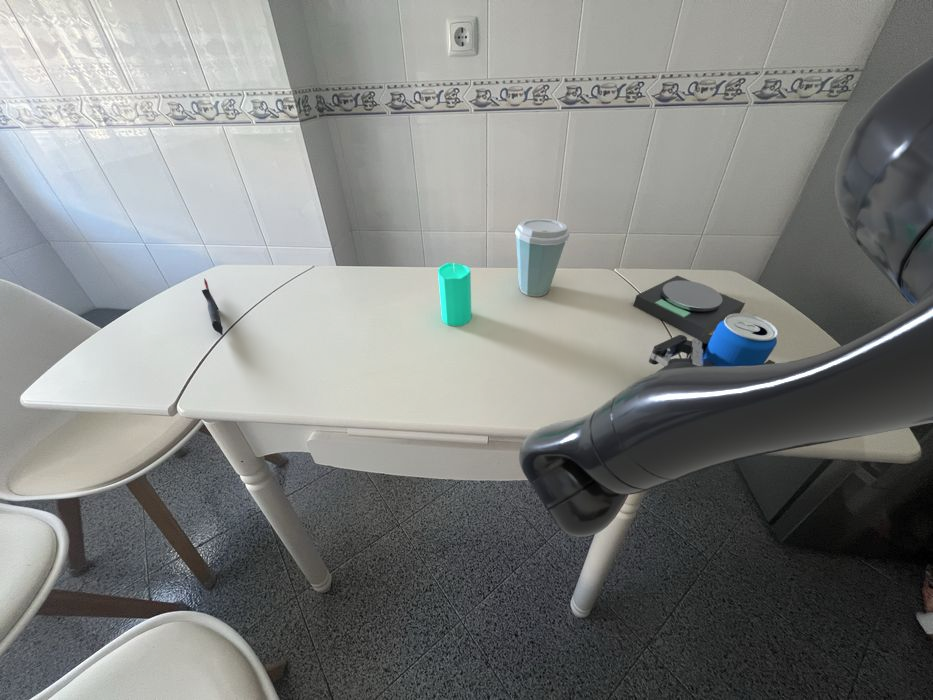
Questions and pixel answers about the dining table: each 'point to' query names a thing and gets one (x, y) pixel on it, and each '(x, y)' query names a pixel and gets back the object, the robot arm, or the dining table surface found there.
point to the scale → (685, 311)
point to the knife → (213, 310)
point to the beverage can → (741, 341)
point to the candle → (455, 293)
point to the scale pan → (692, 295)
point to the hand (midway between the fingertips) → (740, 352)
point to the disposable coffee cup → (539, 253)
